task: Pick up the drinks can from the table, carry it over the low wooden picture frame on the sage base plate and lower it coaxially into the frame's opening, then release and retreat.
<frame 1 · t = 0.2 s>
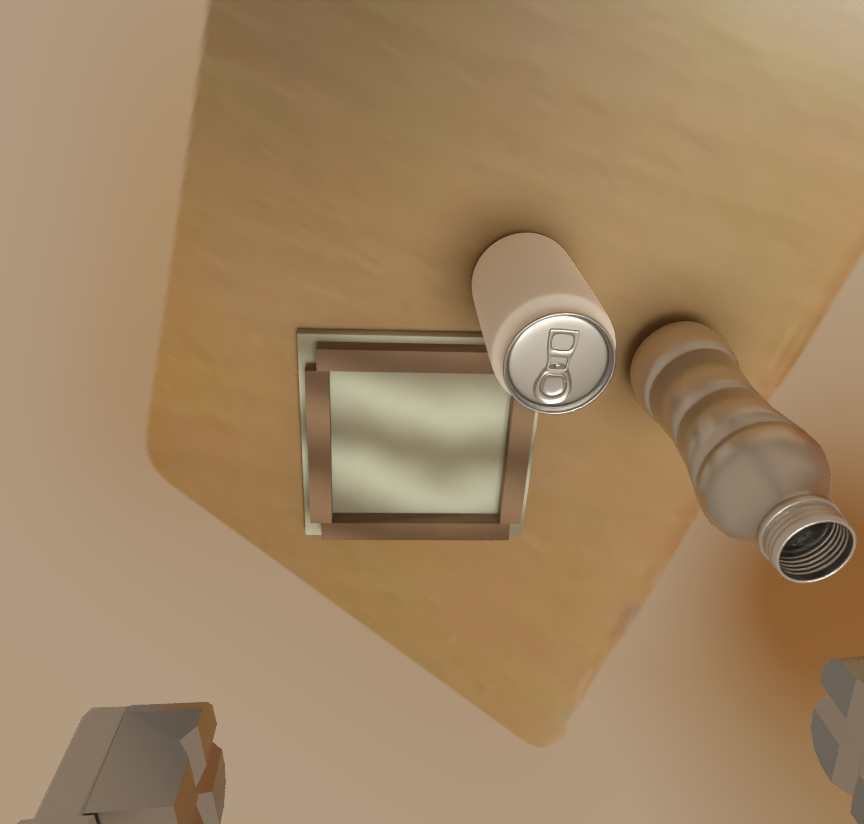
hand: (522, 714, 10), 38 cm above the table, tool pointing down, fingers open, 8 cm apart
can: (521, 279, 48), on the table
plastic bottle: (668, 355, 51), on the table
wooden picture frame: (418, 437, 53), on the table
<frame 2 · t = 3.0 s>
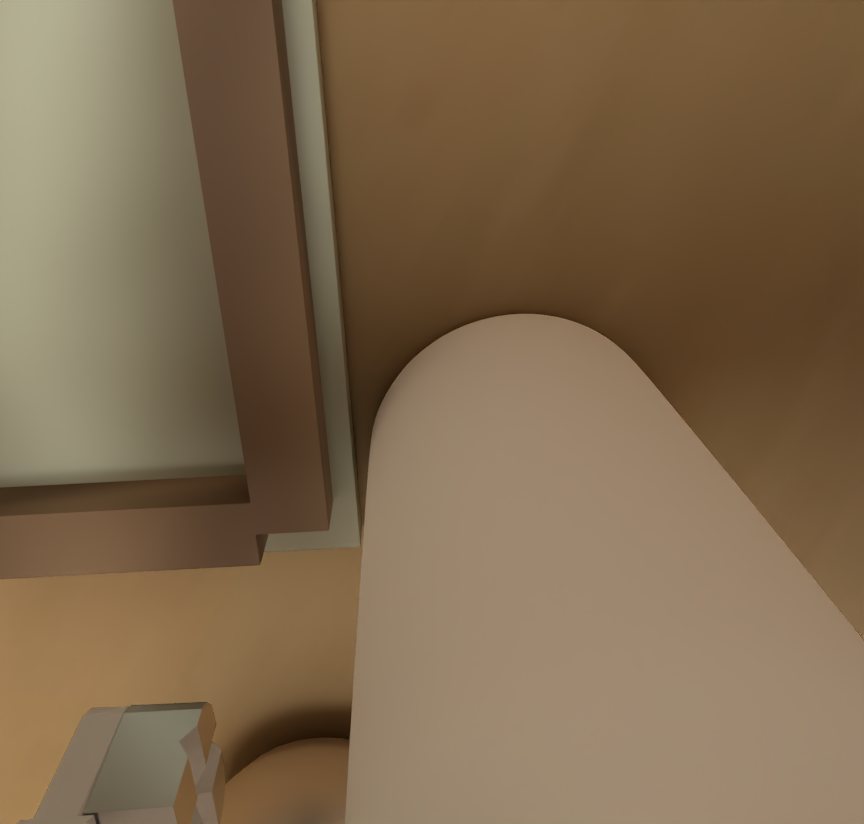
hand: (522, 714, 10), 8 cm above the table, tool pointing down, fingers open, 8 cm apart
can: (512, 440, 17), on the table, touching gripper
plastic bottle: (331, 782, 22), on the table
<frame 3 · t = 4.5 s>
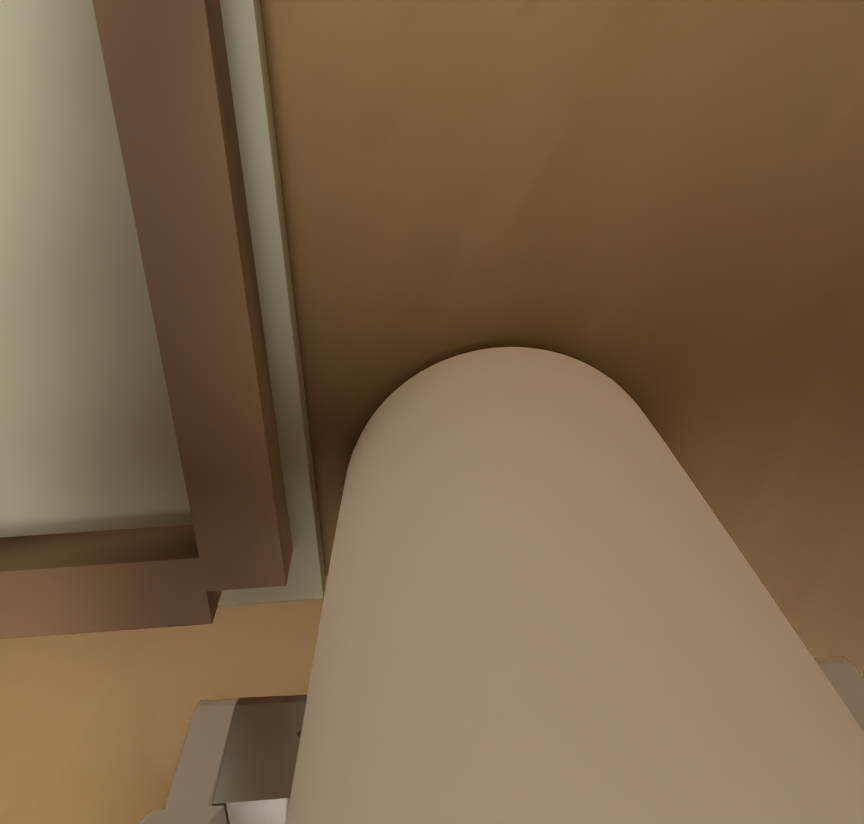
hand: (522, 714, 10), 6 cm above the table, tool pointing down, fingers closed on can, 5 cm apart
can: (501, 481, 16), on the table, touching gripper
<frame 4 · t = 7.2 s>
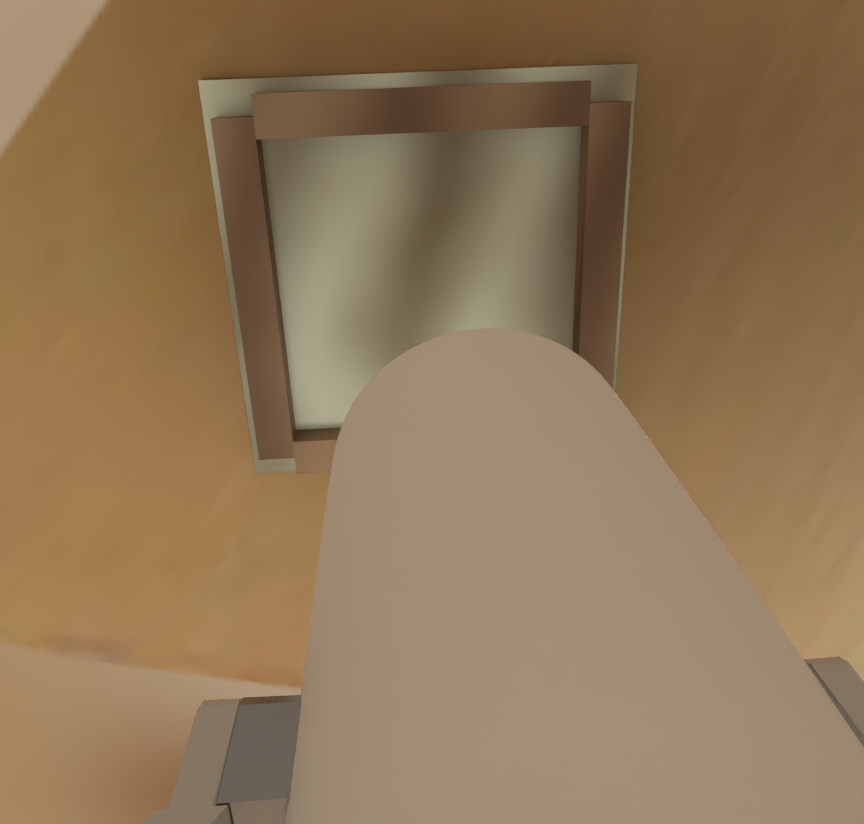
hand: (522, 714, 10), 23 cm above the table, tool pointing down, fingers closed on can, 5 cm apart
can: (480, 456, 17), point 16 cm above the table, touching gripper
wooden picture frame: (427, 282, 32), on the table
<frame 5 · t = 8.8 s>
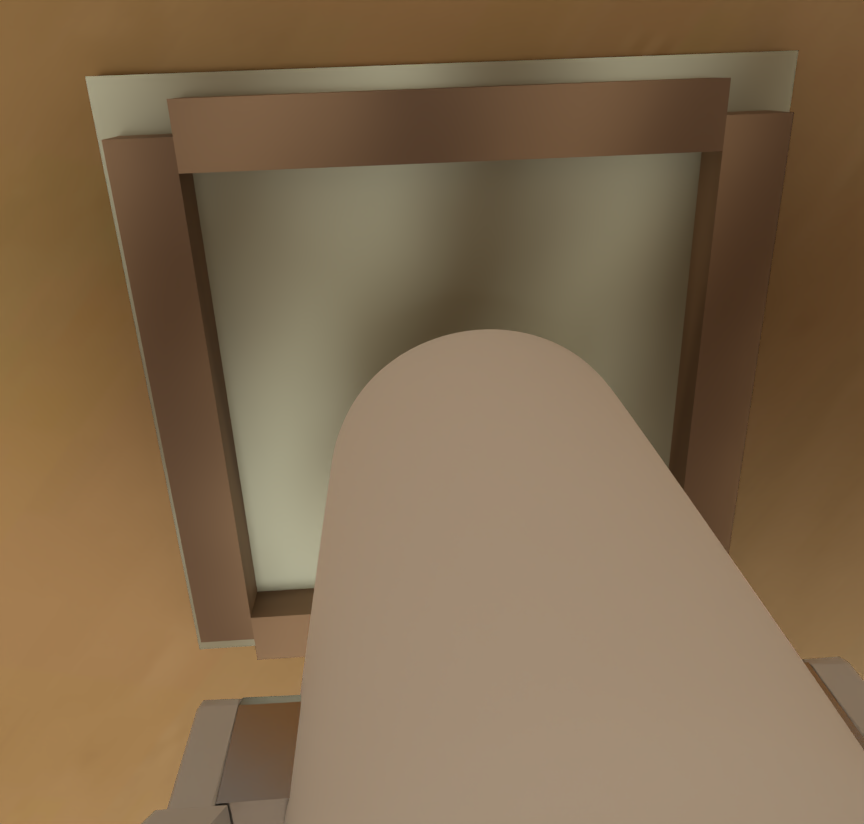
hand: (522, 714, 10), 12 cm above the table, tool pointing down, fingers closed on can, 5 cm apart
can: (479, 456, 17), point 4 cm above the table, touching gripper
wooden picture frame: (453, 382, 21), on the table
when the fingers open (8 cm above the table, at t = 10.0 s): can moves 1 cm, resting on wooden picture frame.
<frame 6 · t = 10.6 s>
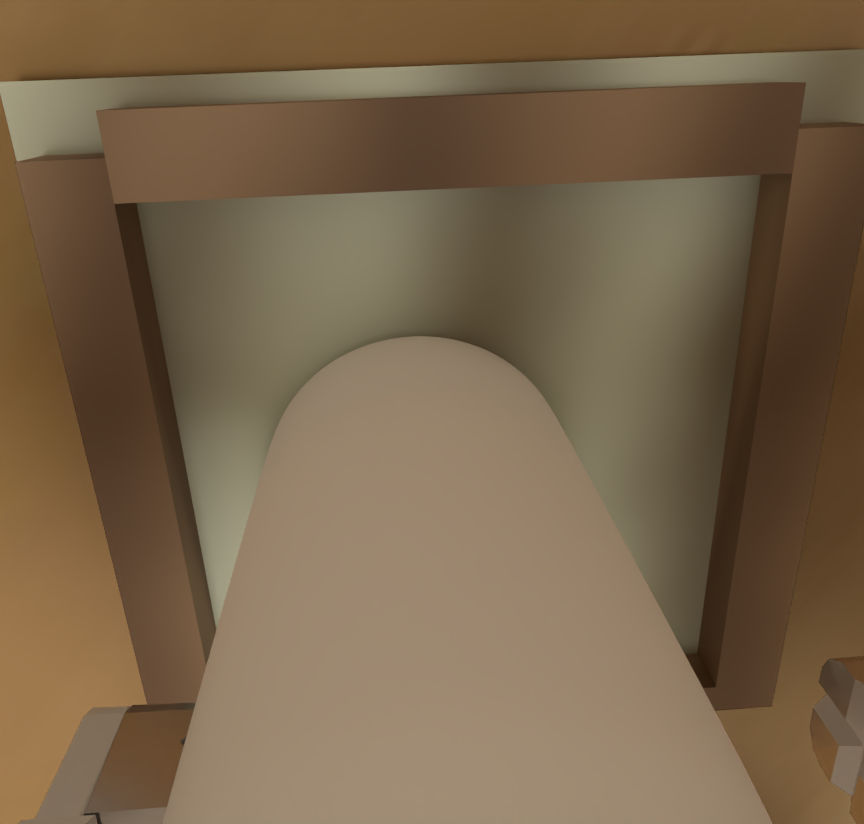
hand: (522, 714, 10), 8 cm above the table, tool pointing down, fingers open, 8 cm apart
can: (416, 463, 17), point 1 cm above the table, touching wooden picture frame, gripper
wooden picture frame: (456, 444, 18), on the table
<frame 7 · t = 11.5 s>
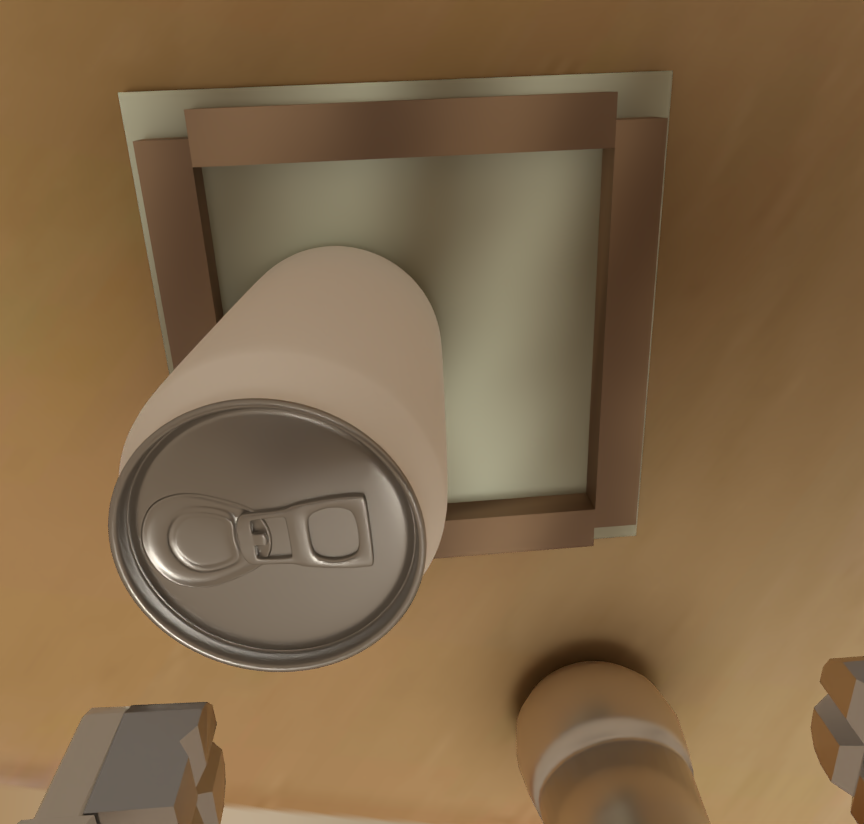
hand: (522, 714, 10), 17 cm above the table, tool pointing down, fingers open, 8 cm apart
can: (342, 341, 25), point 1 cm above the table, touching wooden picture frame
plastic bottle: (580, 695, 33), on the table
wooden picture frame: (413, 338, 26), on the table
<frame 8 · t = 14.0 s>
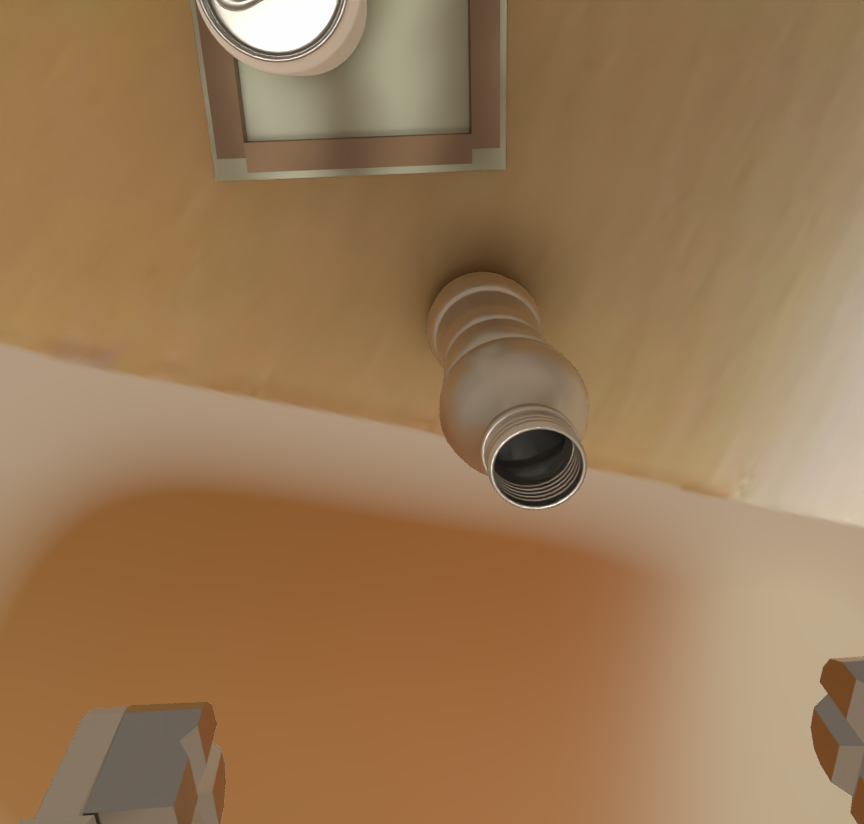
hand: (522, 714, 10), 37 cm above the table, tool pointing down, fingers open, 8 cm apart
can: (304, 6, 39), point 1 cm above the table, touching wooden picture frame
plastic bottle: (478, 314, 47), on the table
wooden picture frame: (351, 13, 40), on the table
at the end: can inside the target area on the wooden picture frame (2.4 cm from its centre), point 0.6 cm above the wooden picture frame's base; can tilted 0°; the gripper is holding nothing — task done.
